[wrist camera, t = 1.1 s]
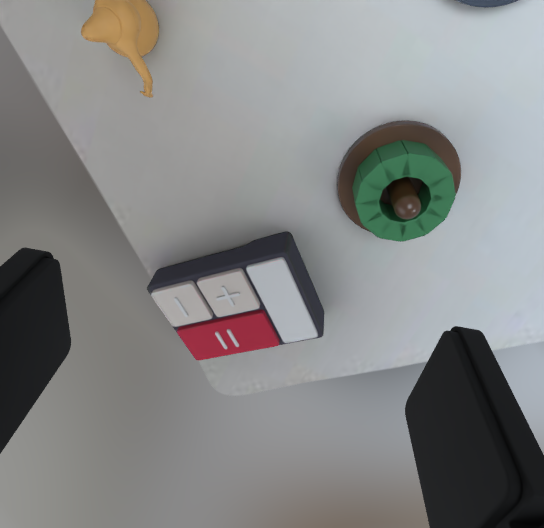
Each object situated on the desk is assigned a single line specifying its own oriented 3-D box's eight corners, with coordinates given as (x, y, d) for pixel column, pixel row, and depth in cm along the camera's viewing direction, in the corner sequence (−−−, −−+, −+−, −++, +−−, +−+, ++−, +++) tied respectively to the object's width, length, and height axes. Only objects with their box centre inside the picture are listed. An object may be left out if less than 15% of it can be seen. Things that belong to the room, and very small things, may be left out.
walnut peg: (353, 110, 33) (361, 134, 28) (477, 131, 33) (507, 159, 28) (326, 220, 38) (328, 256, 34) (432, 237, 39) (449, 276, 34)
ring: (366, 133, 33) (371, 146, 30) (459, 149, 33) (471, 163, 30) (344, 215, 37) (346, 233, 34) (425, 229, 37) (433, 247, 35)
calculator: (141, 292, 40) (285, 255, 36) (156, 266, 44) (290, 229, 39) (194, 366, 46) (324, 342, 41) (204, 338, 49) (325, 313, 45)
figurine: (84, -32, 29) (-34, -35, 19) (160, -70, 27) (75, -94, 17) (143, 89, 33) (72, 137, 23) (211, 62, 32) (166, 102, 22)
